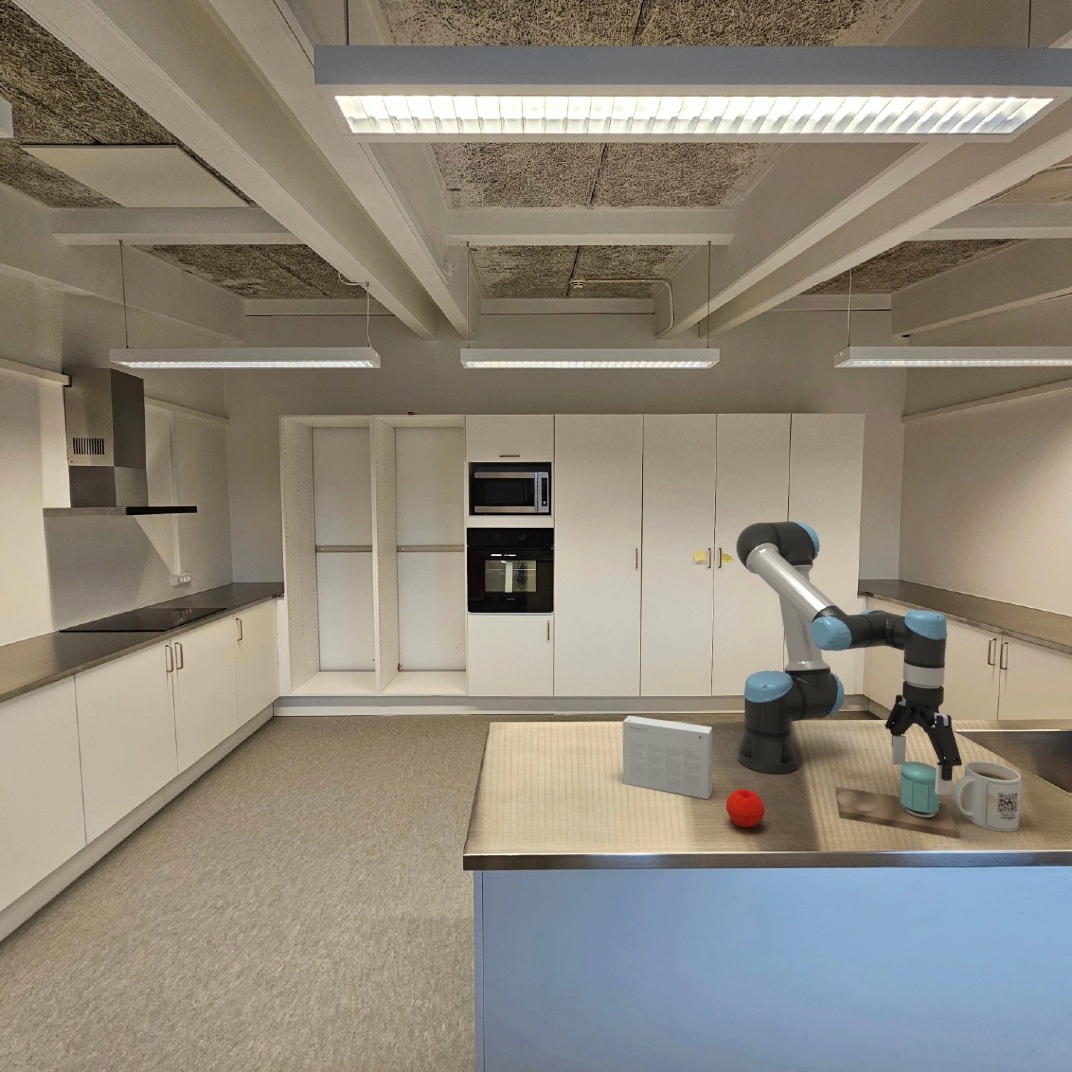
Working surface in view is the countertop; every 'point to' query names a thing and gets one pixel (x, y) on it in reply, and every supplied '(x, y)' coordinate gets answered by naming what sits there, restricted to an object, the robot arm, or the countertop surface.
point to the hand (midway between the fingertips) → (919, 778)
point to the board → (891, 812)
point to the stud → (919, 813)
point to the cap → (919, 787)
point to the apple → (745, 808)
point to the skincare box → (667, 756)
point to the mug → (990, 795)
